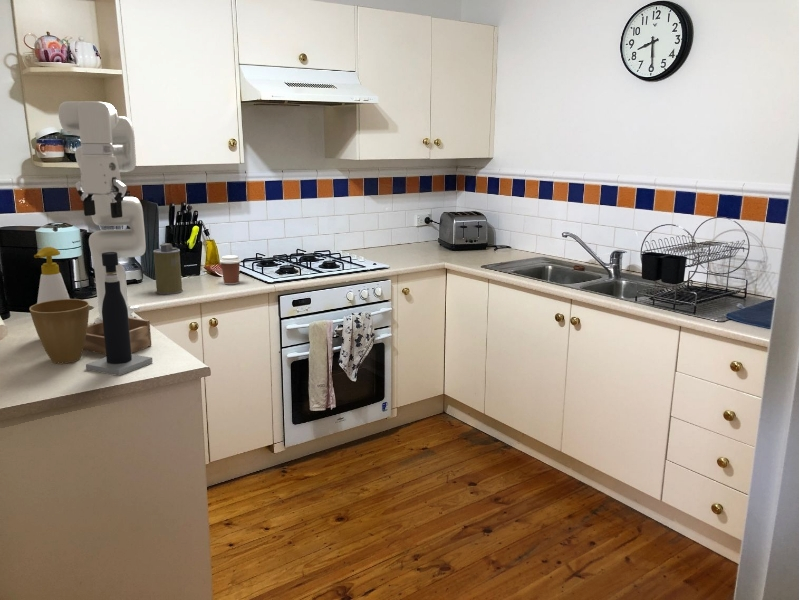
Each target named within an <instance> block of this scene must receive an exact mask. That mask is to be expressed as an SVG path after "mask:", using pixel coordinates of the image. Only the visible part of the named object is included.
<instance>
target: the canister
mask: <svg viewBox="0 0 800 600" xmlns="http://www.w3.org/2000/svg"><path fill="white" fill-rule="evenodd" d="M159 246H160V248H158V249H154V250H153V251H152V252H153V258H154V259H153V261H154V273H155V286H156V292H155V293H157V294H159V295H176V294H180V293H182V292H184V291H183V284H182V283H183V282H182V271H181V270H182V269H181V268H182V267H181V254H180V253H181V252H180V251H181V250H180V248H178V247H174V246H173V244H172V243H167V242H165V243H162V244H161V243H160V244H159Z"/></svg>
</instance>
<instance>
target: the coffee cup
mask: <svg viewBox="0 0 800 600" xmlns="http://www.w3.org/2000/svg"><path fill="white" fill-rule="evenodd" d="M241 262H242V260H241V258H239V256H238V255H237V254H236V255H233V254H230V255H229V254H228V255H223V256H221V259H220V260H219V263H220V265H221V271H222V279H223V285H226V284H235V285H238V284H240V264H241ZM237 283H238V284H237Z"/></svg>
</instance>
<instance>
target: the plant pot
mask: <svg viewBox="0 0 800 600" xmlns="http://www.w3.org/2000/svg"><path fill="white" fill-rule="evenodd" d="M29 311H30V316H31V320H32V322H33V326H34V328H35V331H36V333H37V336H38V338H39V340H40V342H41V344H42V346H43V349H44V351H45V352H46V354H47V356H48V357H49V359H50V361H51V362H52V363H54V364H68V363H69V364H70V363H73V362H76V361H79V360H80V359H81V357H82V354H83V352H84V350H83V347H84V343H85V339H86V333H87V327H88V326H89V317H90V302H89V301H88V300H83V299H80V298H79V299H77V298H70V299H60V300H52V301H46V302H42V303H38V304H37V303H35V304H33V305H31V306H29Z"/></svg>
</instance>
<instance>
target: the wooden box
mask: <svg viewBox="0 0 800 600" xmlns="http://www.w3.org/2000/svg"><path fill="white" fill-rule="evenodd" d="M128 320H129V332H130V343H131V354H134V353H135V352H136V353H137V352H139V351H142V350H144V349H147V348H149V347H148V346H150V347H152V346H151V345H152V335H151V320H149V319H143V318H135V317H134V318H130V317H128ZM146 347H147V348H146ZM143 348H144V349H143ZM83 351H85V352H92V353H97V354H103V355H106V349H105V338H104V328H103V322H99V323H96V324H95V323H93V324H90V325H89V324H88V327H87V333H86V339H85V343H84V347H83Z"/></svg>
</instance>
